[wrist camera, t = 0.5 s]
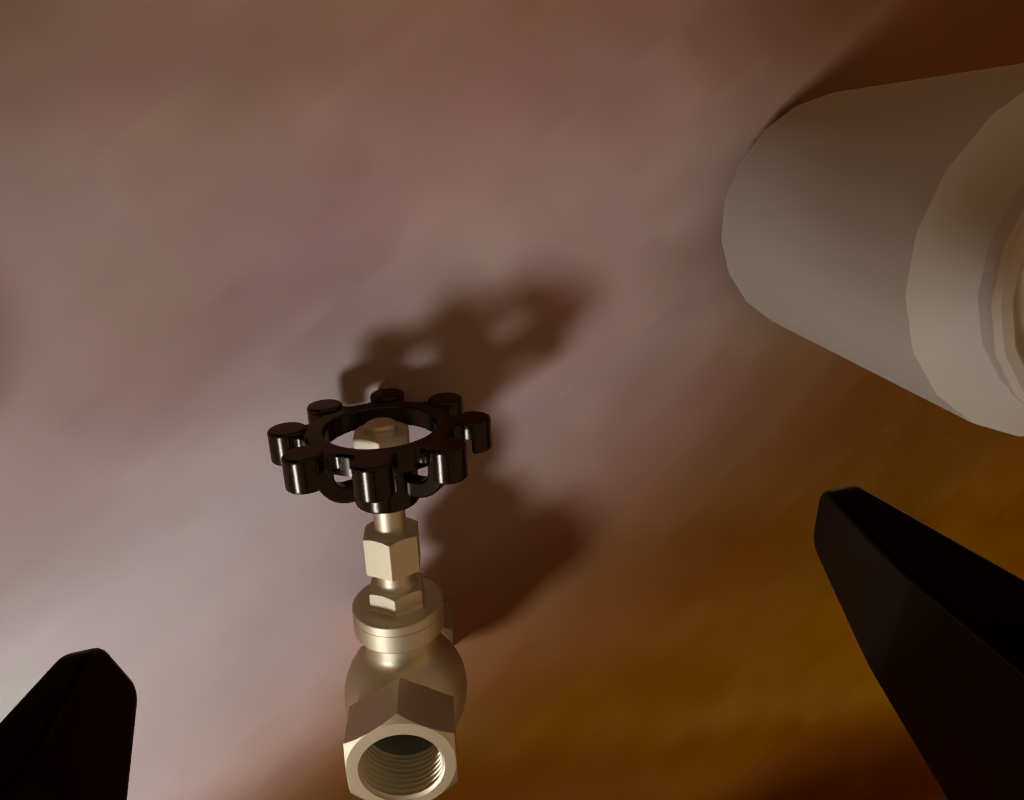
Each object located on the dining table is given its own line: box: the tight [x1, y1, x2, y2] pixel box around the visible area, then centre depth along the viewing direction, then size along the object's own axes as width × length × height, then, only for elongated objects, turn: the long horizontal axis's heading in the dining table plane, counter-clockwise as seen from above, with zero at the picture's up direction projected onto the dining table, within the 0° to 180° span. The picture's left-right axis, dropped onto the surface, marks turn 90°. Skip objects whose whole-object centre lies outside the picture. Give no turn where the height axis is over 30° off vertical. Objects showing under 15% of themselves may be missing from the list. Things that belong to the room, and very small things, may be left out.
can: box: [721, 63, 1024, 436], centre depth 18 cm, size 8×8×12 cm
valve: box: [267, 388, 492, 800], centre depth 23 cm, size 7×7×12 cm
